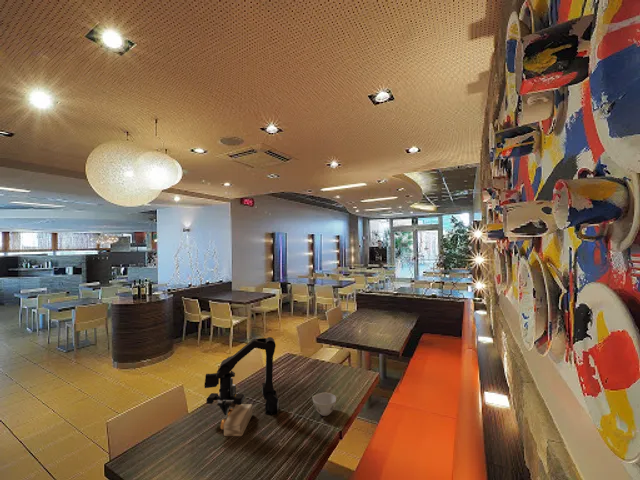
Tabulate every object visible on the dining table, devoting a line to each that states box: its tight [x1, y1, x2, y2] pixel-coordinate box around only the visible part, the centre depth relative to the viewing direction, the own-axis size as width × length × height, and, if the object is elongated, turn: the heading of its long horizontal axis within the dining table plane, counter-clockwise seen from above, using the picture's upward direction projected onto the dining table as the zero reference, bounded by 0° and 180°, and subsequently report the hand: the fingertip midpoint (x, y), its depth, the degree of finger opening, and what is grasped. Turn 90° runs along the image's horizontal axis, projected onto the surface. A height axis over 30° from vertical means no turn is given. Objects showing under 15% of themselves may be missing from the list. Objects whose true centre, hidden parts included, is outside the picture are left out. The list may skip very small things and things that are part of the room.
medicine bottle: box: [218, 377, 237, 403], centre depth 169 cm, size 7×7×12 cm
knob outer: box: [220, 418, 227, 431], centre depth 139 cm, size 10×4×4 cm, turn 86°
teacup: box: [311, 392, 337, 417], centre depth 153 cm, size 15×12×8 cm
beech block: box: [223, 403, 253, 437], centre depth 144 cm, size 9×17×6 cm, turn 177°
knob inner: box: [227, 408, 234, 417], centre depth 148 cm, size 10×4×4 cm, turn 86°
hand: (225, 414), depth 149 cm, fingers closed
